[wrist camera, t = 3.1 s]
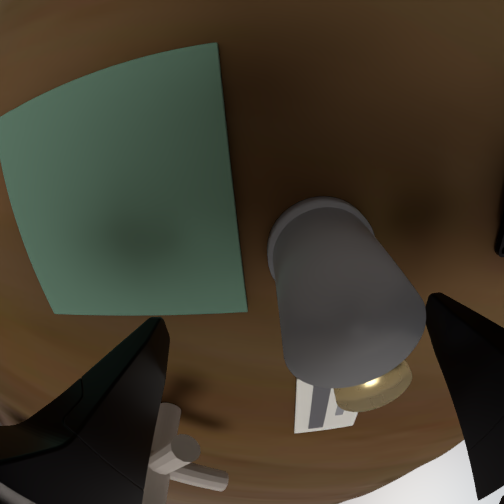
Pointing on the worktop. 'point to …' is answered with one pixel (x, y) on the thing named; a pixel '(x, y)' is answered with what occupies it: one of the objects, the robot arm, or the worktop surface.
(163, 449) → the pipe connector
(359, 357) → the cylinder
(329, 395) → the label tile
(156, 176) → the mat
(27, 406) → the worktop surface
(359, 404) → the brass fitting
